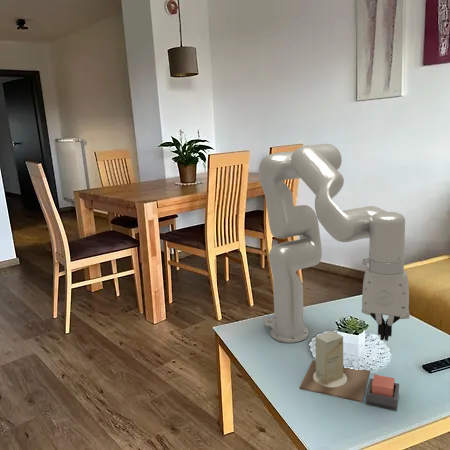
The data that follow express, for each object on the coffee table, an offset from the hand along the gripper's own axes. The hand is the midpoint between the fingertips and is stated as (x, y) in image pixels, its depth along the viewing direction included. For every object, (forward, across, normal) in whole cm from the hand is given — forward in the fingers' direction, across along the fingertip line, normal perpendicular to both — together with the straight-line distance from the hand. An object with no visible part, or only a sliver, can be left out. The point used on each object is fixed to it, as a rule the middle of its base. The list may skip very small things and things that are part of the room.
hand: (384, 337), depth 103 cm
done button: (+15, 0, 0) cm, 15 cm away
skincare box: (+16, -14, +4) cm, 22 cm away
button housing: (+17, 0, 0) cm, 17 cm away
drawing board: (+17, -13, +4) cm, 21 cm away
